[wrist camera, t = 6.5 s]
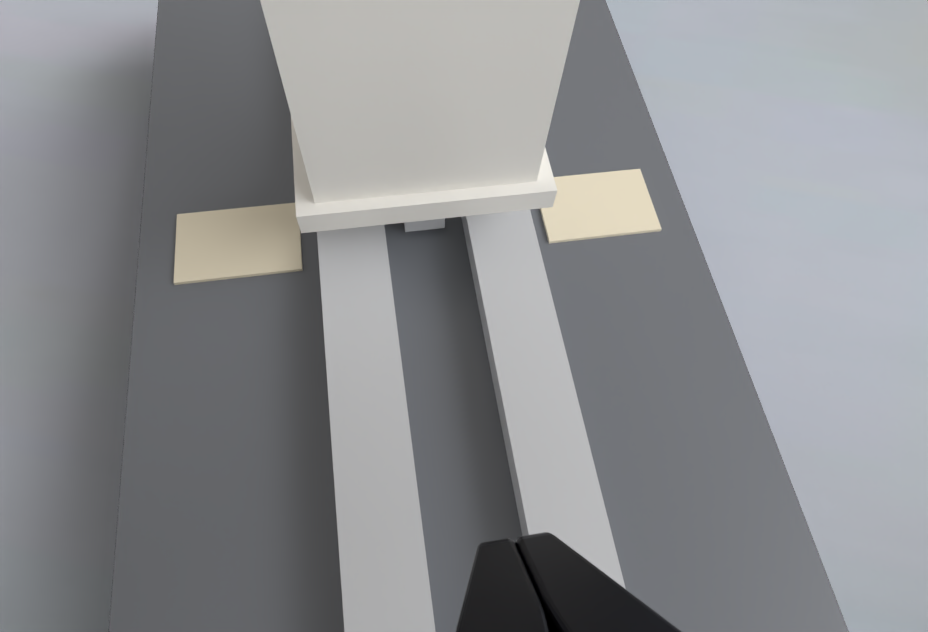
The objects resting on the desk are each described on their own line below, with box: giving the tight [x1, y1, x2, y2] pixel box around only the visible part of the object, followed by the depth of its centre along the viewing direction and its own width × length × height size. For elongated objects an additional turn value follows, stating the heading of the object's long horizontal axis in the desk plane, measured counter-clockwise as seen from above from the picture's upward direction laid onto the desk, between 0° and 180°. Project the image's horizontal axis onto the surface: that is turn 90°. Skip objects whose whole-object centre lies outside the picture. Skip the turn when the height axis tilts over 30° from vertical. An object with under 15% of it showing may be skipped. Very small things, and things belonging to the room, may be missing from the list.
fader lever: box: [260, 0, 580, 233], centre depth 12 cm, size 3×6×9 cm, turn 99°
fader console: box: [109, 0, 849, 632], centre depth 15 cm, size 30×14×3 cm, turn 9°
